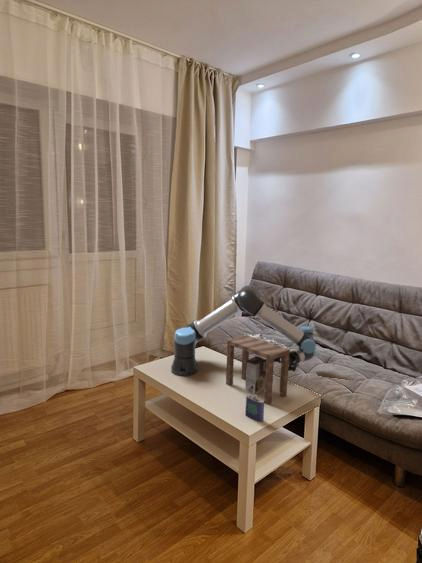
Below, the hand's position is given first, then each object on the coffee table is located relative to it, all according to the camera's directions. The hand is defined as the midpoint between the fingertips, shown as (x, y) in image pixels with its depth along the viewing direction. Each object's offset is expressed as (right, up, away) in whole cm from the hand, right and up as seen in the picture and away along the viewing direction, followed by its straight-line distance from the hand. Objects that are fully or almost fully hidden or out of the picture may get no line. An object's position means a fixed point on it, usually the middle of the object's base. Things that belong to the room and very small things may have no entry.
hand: (269, 366), depth 195 cm
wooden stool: (-8, -11, -3) cm, 14 cm away
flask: (-11, -16, -30) cm, 35 cm away
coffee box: (-8, -12, -2) cm, 14 cm away
